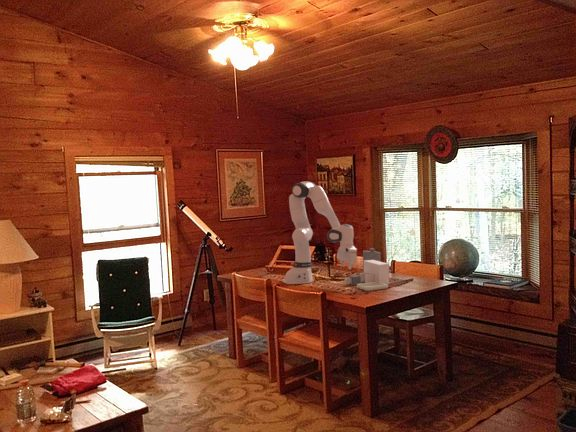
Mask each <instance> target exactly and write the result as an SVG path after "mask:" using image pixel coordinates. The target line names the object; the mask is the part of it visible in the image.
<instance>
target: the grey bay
mask: <svg viewBox="0 0 576 432" xmlns="http://www.w3.org/2000/svg"><path fill="white" fill-rule="evenodd" d="M358 275H359V276H361V283H370V282H381V283H384V284H388V285H389V284H390V263H388V262H385V261H384V262H383V261H381V262H380V261H376V260H365V261H364V273H363V272H360V273H359V274H358Z"/></svg>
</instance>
